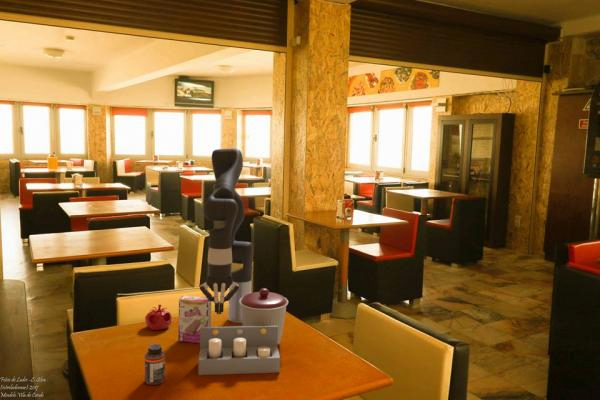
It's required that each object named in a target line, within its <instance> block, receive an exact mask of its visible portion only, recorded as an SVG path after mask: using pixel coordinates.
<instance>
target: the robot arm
mask: <svg viewBox="0 0 600 400" xmlns="http://www.w3.org/2000/svg"><path fill="white" fill-rule="evenodd" d="M242 153H243V152H242V151H241V149H240V148H220V149H215V150H212V153H211V165H212V170H213V174H214V179H215V183H214V185H213V190H212V193H211V194H210V195H209V197H207V199H206V201H204V202H205V203H204V205H203V215H204V217H205V219H207V220H208V221H211V222H222V226H219V227H214V228H211V229H210V230H209V234H208V251H207V252H208V253H207V278H206V280H205V282H203V283H201V284H200V286H199V290H200V291H201V293H202V294H203V295H204V296H205V297H206V298H207V299H208V300H209V301H211V303H214V313H216V315H221V314H222V313H224V308H225V307H224V304H225V302H228V318H227V319H228V321H229V322H231V323H235V324H242V313H241V305H240V303H239V300H240V299H241V298H242V297H244V296H245V295H247V294H250V293H252V280H253V279H252V275H253V262H254V261H253V259H254V245H253V243H252V242H250V241H239V240H236V239H235V235H236V233H237V231H238V230H239V228H240V226H241V225H242V223H243V221H244V219H245V216H246V215H245V205H244V200H243V198H242V197H241V195H240V194H239V193H238V192H237V191H236V186H237V184H238V183H237V182H238V180H239V179H240V176H241V174H242V171H243V166H244V159H243V158H244V157H243V154H242ZM232 264H239V265H242V267H241V268H239V269H235V270H233V269H232V266H233V265H232ZM208 287H209V288H208ZM208 289H210V290H211V291H212V293H213V295H212V293H210V291H209V290H208ZM227 291H228V292H227ZM226 292H227V294H225V293H226ZM219 293H220V295H219Z"/></svg>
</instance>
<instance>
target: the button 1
mask: <svg viewBox="0 0 600 400" xmlns="http://www.w3.org/2000/svg"><path fill="white" fill-rule="evenodd" d="M220 356H221V339H218V338H213V339H210V340H209V357H210V358H219V357H220Z"/></svg>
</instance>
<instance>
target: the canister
mask: <svg viewBox="0 0 600 400" xmlns="http://www.w3.org/2000/svg"><path fill="white" fill-rule="evenodd" d="M239 303H240V305H241V313H242V323H241V324H242V326H278V342H277V346H279V344H280V342H281V340H282V336H283V330H284V326H285V325H284V323H285V318H286V317H285V316H286V313H287V312H286V310H287V306H288V304H289V300H288V299H287V297H284V296H283V295H282V294H279V293H276V292H271V291H269V289H268V288H265V287H262V288H260V289H259V291H255V292H251V293H250V294H247V295H245V296H244V297H242V298H241V299H240V300H239Z"/></svg>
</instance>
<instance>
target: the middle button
mask: <svg viewBox="0 0 600 400" xmlns="http://www.w3.org/2000/svg"><path fill="white" fill-rule="evenodd" d="M233 355H234V356H235V357H244V356H245V355H246V339H244V338H236V339H234V353H233Z"/></svg>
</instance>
